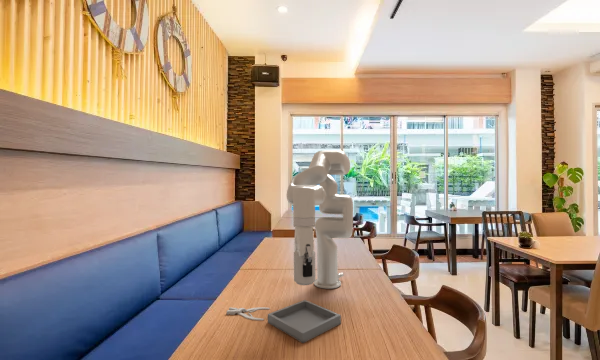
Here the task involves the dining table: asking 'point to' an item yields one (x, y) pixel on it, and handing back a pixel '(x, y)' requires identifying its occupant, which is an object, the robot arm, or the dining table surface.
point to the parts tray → (304, 320)
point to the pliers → (239, 311)
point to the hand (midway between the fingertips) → (304, 272)
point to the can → (299, 270)
